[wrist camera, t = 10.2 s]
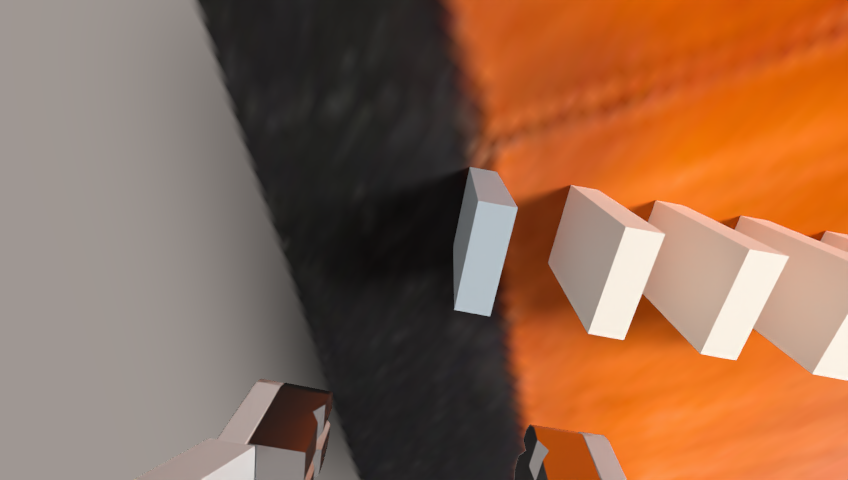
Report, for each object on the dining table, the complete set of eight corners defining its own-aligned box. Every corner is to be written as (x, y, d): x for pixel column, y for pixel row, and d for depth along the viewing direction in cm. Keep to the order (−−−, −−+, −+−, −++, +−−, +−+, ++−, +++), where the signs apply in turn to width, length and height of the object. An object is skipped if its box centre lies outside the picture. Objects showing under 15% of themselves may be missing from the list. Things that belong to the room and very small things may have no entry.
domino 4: (706, 291, 26) (812, 374, 18) (740, 215, 24) (873, 271, 16) (731, 296, 26) (848, 380, 18) (768, 220, 24) (912, 278, 16)
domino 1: (453, 246, 26) (454, 309, 18) (469, 167, 24) (478, 200, 16) (478, 250, 26) (490, 316, 18) (496, 171, 24) (517, 207, 16)
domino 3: (627, 277, 26) (700, 353, 18) (655, 200, 24) (749, 249, 16) (652, 282, 26) (736, 360, 18) (683, 205, 24) (789, 256, 16)
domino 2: (547, 263, 26) (587, 333, 18) (570, 184, 24) (625, 226, 16) (573, 267, 26) (624, 340, 18) (598, 189, 24) (665, 234, 16)
